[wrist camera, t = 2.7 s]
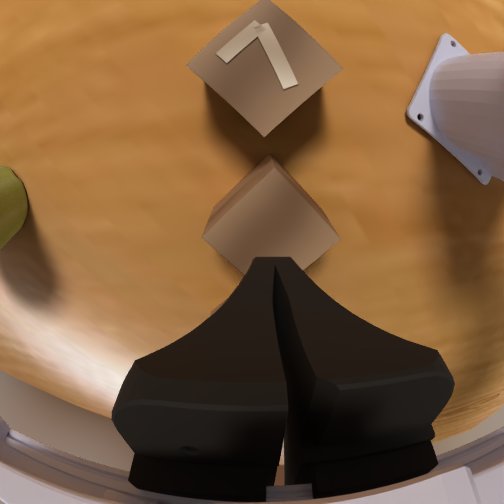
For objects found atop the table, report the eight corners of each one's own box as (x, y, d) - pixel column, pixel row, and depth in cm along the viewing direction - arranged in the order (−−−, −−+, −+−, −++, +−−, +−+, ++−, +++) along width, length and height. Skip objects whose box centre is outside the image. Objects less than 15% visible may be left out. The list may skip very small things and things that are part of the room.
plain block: (321, 208, 19) (340, 239, 15) (266, 255, 21) (269, 296, 16) (269, 153, 18) (274, 167, 13) (214, 206, 19) (201, 237, 15)
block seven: (320, 79, 15) (343, 68, 11) (262, 131, 17) (264, 137, 12) (262, 25, 14) (265, -4, 9) (203, 77, 15) (185, 65, 11)
